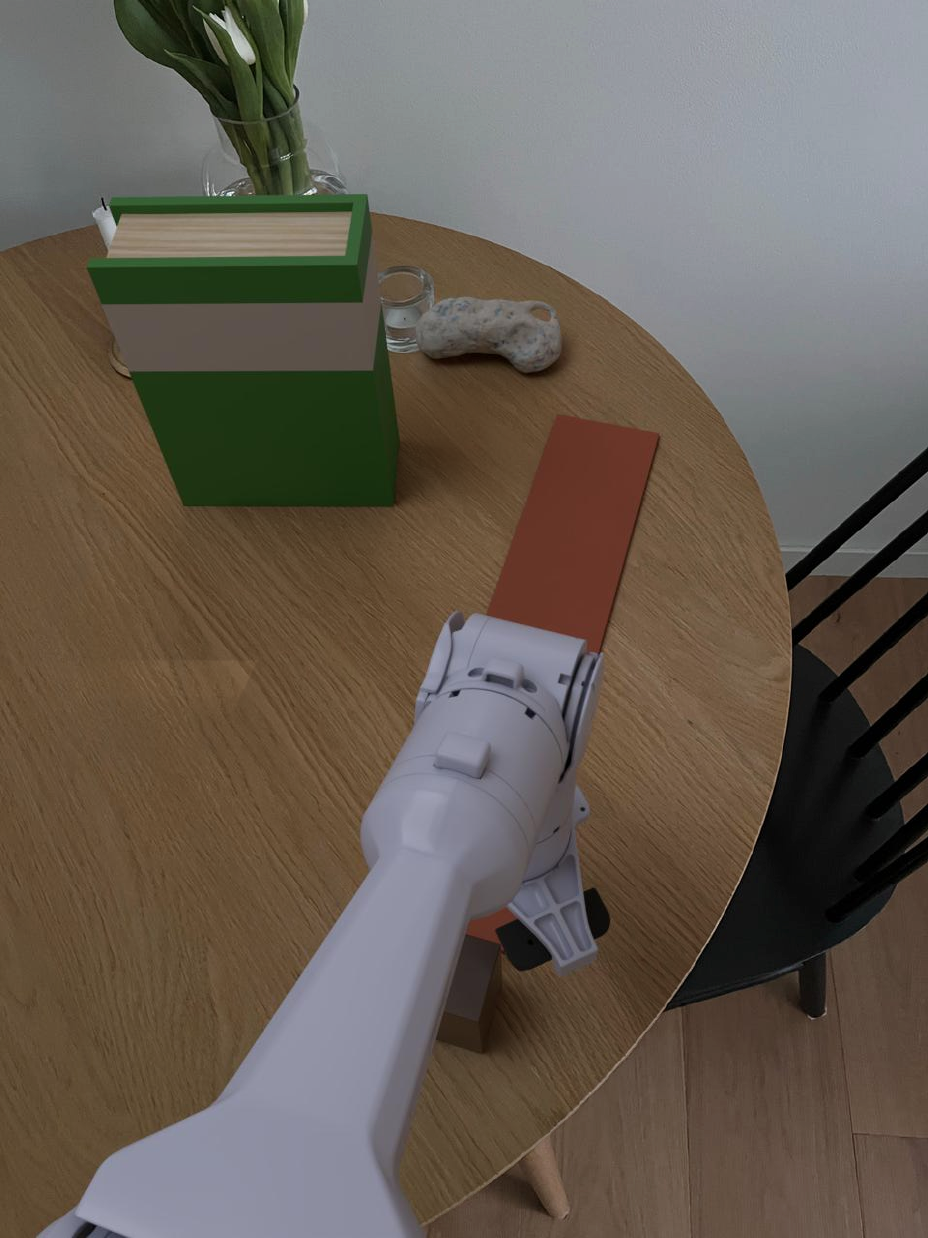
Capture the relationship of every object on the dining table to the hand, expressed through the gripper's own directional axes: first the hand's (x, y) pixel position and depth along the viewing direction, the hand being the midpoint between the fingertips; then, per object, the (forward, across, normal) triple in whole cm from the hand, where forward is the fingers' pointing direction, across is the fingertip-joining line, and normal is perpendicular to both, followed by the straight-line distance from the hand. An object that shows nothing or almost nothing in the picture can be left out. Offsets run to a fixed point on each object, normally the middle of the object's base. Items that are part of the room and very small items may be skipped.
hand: (514, 889), depth 61 cm
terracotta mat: (+8, +19, -11) cm, 23 cm away
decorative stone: (+8, +49, -21) cm, 54 cm away
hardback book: (+8, +43, 0) cm, 44 cm away
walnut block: (+8, -3, +5) cm, 10 cm away
